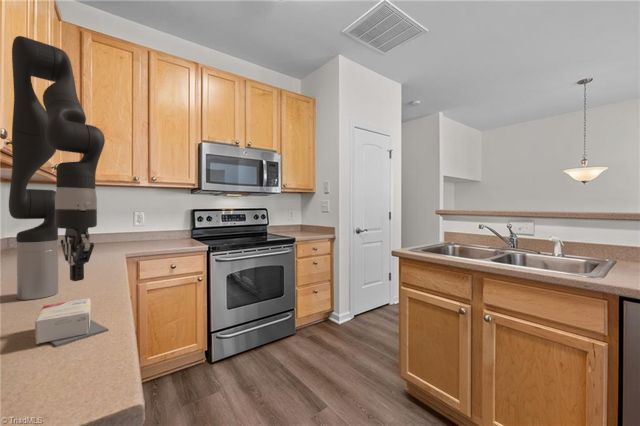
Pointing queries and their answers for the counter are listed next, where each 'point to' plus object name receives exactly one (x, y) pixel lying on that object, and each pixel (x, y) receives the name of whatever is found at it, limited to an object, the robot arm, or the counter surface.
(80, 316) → the ink box
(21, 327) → the counter surface
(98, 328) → the mat
